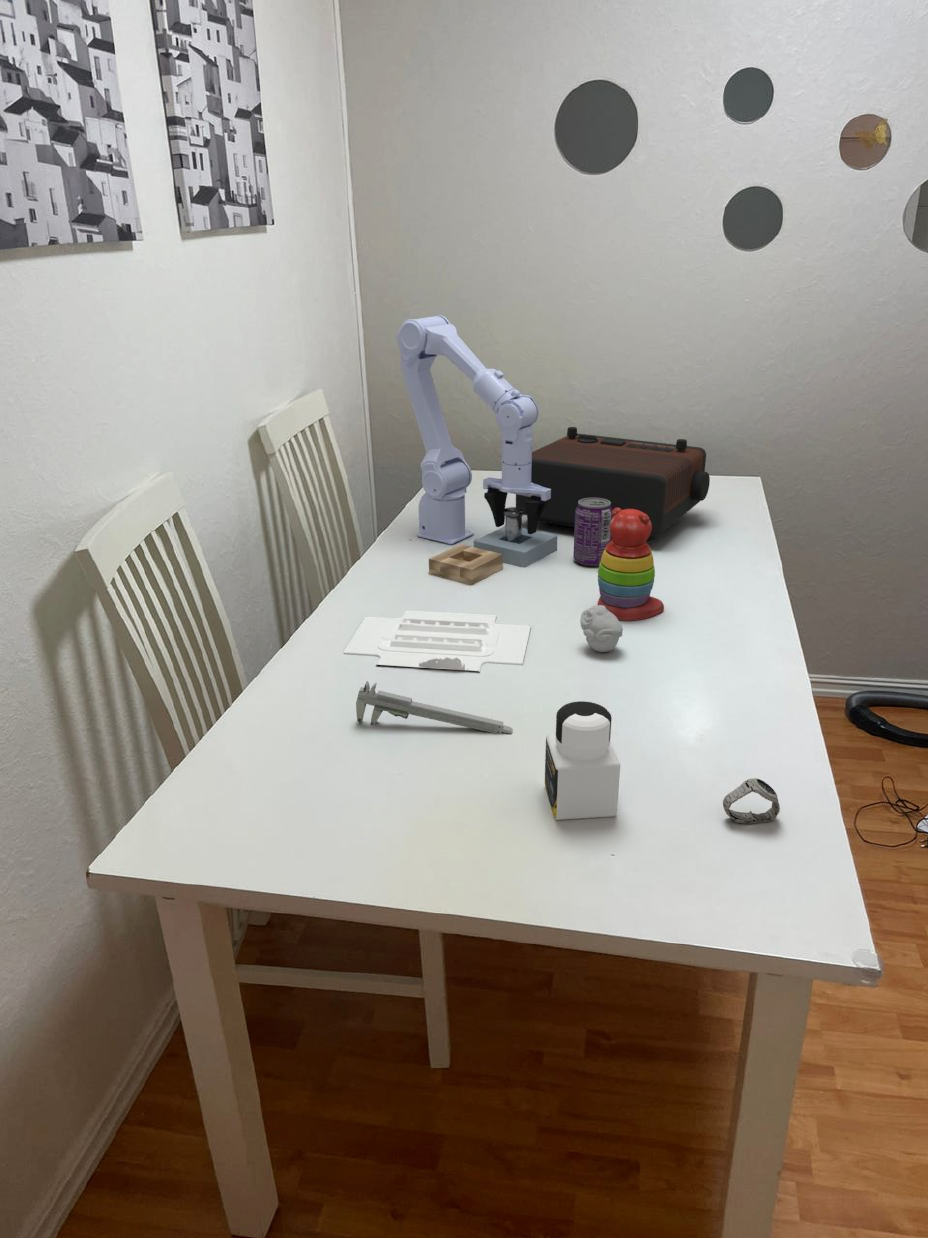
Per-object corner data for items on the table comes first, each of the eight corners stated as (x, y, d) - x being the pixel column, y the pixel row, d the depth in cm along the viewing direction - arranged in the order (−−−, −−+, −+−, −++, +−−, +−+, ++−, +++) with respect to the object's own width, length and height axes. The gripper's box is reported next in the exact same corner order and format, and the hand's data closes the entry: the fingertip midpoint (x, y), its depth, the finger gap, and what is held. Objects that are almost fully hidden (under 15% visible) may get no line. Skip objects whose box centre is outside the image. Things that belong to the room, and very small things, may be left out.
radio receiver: (711, 518, 198) (720, 437, 191) (670, 555, 177) (678, 465, 170) (567, 496, 215) (570, 421, 207) (514, 527, 194) (514, 445, 186)
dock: (473, 555, 178) (473, 540, 177) (507, 538, 187) (507, 524, 186) (524, 567, 171) (524, 552, 170) (557, 549, 180) (557, 535, 179)
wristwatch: (782, 827, 99) (788, 789, 96) (727, 830, 98) (732, 792, 96) (769, 808, 102) (775, 771, 100) (716, 811, 101) (720, 774, 99)
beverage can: (609, 555, 177) (612, 497, 172) (610, 568, 170) (614, 508, 165) (572, 554, 177) (575, 496, 172) (573, 567, 171) (575, 507, 166)
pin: (499, 549, 178) (499, 510, 174) (510, 544, 181) (511, 505, 177) (515, 553, 176) (516, 514, 172) (527, 548, 178) (527, 509, 175)
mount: (429, 573, 169) (428, 558, 168) (460, 558, 176) (460, 543, 175) (471, 585, 164) (471, 569, 162) (502, 568, 171) (502, 554, 170)
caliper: (357, 725, 120) (354, 683, 117) (359, 721, 121) (356, 679, 118) (511, 736, 117) (512, 693, 114) (512, 731, 118) (513, 689, 115)
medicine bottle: (544, 784, 106) (546, 696, 101) (603, 781, 107) (608, 692, 102) (554, 821, 100) (557, 729, 95) (617, 817, 100) (624, 725, 95)
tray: (370, 613, 154) (370, 593, 153) (532, 627, 151) (533, 607, 149) (337, 668, 136) (336, 646, 134) (520, 686, 132) (522, 663, 131)
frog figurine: (594, 636, 143) (596, 596, 140) (630, 650, 139) (633, 609, 136) (570, 649, 139) (572, 607, 136) (606, 663, 135) (609, 621, 132)
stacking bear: (668, 609, 153) (677, 508, 145) (635, 628, 146) (643, 523, 139) (615, 593, 159) (621, 496, 152) (581, 610, 153) (586, 510, 145)
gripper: (473, 460, 173) (474, 527, 178) (537, 471, 165) (535, 541, 170) (494, 453, 178) (494, 518, 183) (557, 463, 170) (555, 531, 175)
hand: (515, 529), depth 177 cm, fingers open, 7 cm apart
